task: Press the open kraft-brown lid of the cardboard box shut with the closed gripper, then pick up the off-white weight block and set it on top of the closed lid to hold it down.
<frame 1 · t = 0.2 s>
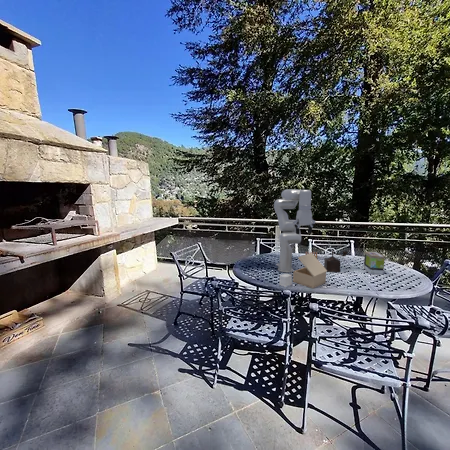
hand: (303, 233, 169), 36 cm above the table, tool pointing down, fingers open, 9 cm apart
cardboard box: (309, 282, 178), on the table
weight block: (285, 285, 173), on the table
manual coffee grinder: (335, 270, 204), on the table
tea box: (373, 271, 201), on the table
ammunition clip: (310, 264, 221), on the table
box lid: (312, 264, 175), point 14 cm above the table, hinge at 40.0°
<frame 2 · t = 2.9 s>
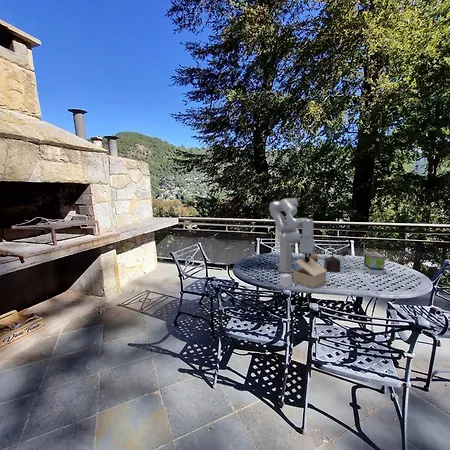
hand: (307, 261, 177), 15 cm above the table, tool pointing down, fingers closed
box lid: (311, 266, 176), point 12 cm above the table, hinge at 26.3°, touching gripper
everything else where it was.
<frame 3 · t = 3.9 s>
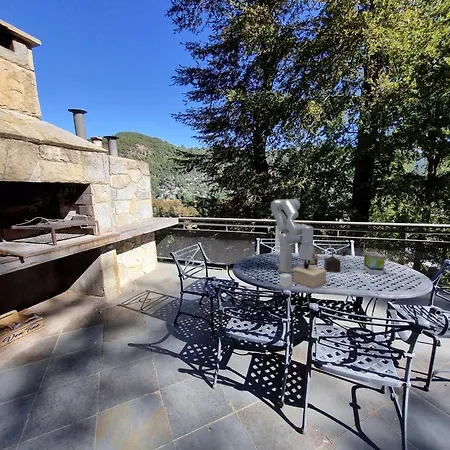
hand: (306, 268, 179), 10 cm above the table, tool pointing down, fingers closed
box lid: (309, 270, 177), point 9 cm above the table, hinge at 3.1°, touching gripper
everything else where it was.
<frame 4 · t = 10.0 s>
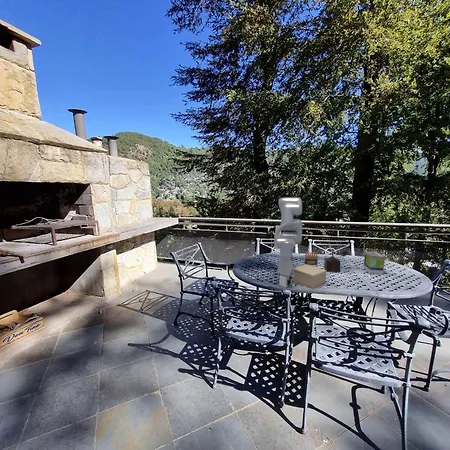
hand: (285, 283, 173), 1 cm above the table, tool pointing down, fingers closed on weight block, 5 cm apart
weight block: (285, 285, 173), on the table, touching gripper
box lid: (309, 270, 177), point 9 cm above the table, hinge at 3.0°
everything else where it was.
when the fingers open (12 cm above the table, at t = 17.5 s): weight block drops 2 cm, resting on box lid.
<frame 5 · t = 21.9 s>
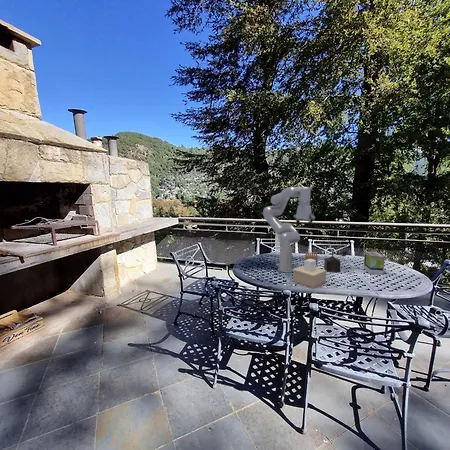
hand: (303, 227, 184), 38 cm above the table, tool pointing down, fingers open, 9 cm apart
weight block: (309, 269, 177), point 9 cm above the table, touching box lid
box lid: (309, 270, 177), point 9 cm above the table, hinge at 1.5°, touching weight block
everything else where it was.
at the end: box lid at +2° (first picture: +40°); weight block inside the target area on the cardboard box (0.1 cm from its centre), point 9.3 cm above the cardboard box's base; the gripper is holding nothing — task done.
